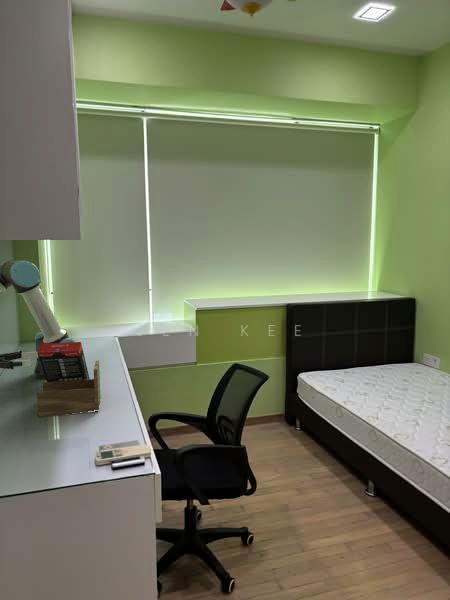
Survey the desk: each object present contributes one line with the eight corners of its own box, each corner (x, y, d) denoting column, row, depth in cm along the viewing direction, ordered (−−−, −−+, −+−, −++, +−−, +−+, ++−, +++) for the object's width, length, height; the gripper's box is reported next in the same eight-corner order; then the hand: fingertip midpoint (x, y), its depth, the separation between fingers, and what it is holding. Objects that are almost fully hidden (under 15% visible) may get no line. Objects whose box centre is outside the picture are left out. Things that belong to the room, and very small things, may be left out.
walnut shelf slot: (44, 404, 185) (42, 364, 182) (100, 399, 190) (99, 360, 188) (38, 417, 171) (35, 373, 169) (98, 411, 177) (97, 369, 174)
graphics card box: (92, 386, 198) (81, 339, 183) (90, 396, 192) (78, 349, 178) (54, 388, 197) (40, 342, 182) (51, 399, 191) (36, 352, 176)
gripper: (-10, 362, 195) (40, 359, 200) (-29, 378, 171) (28, 375, 176) (-11, 346, 194) (39, 344, 199) (-30, 360, 170) (27, 357, 175)
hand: (34, 358), depth 187 cm, fingers open, 13 cm apart
